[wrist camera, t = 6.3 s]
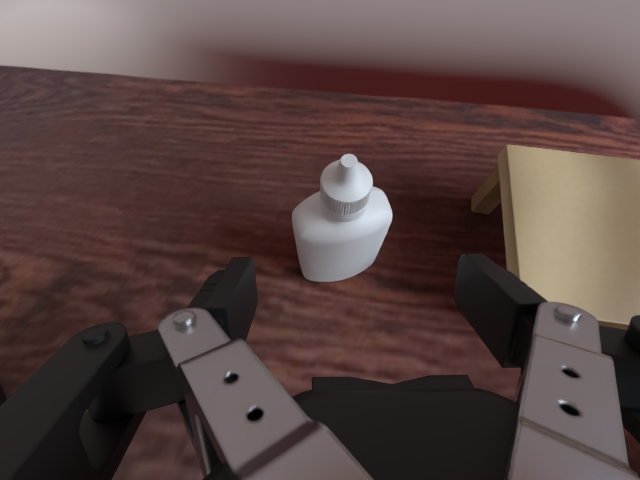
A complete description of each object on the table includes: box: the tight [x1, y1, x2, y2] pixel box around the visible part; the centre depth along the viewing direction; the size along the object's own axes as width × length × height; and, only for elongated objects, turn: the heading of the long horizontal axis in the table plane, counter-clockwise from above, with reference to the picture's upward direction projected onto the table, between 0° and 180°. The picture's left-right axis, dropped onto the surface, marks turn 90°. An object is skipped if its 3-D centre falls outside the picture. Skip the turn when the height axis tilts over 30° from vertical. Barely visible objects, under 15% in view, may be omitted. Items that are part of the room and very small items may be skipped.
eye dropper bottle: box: [292, 154, 392, 282], centre depth 19 cm, size 4×6×12 cm
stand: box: [471, 144, 640, 330], centre depth 21 cm, size 12×11×6 cm
